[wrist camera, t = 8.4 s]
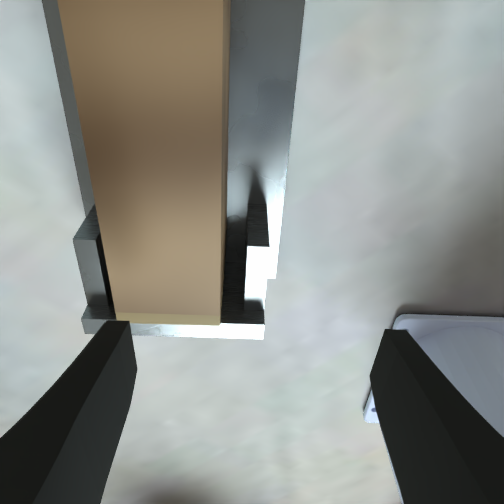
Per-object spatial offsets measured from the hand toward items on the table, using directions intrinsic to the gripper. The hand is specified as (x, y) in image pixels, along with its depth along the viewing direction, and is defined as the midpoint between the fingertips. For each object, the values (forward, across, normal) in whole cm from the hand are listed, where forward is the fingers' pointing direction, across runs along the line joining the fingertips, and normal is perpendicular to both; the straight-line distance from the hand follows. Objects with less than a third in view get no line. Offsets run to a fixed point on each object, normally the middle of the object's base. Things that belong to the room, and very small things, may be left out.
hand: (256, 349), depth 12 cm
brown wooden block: (+7, +3, -4) cm, 9 cm away
